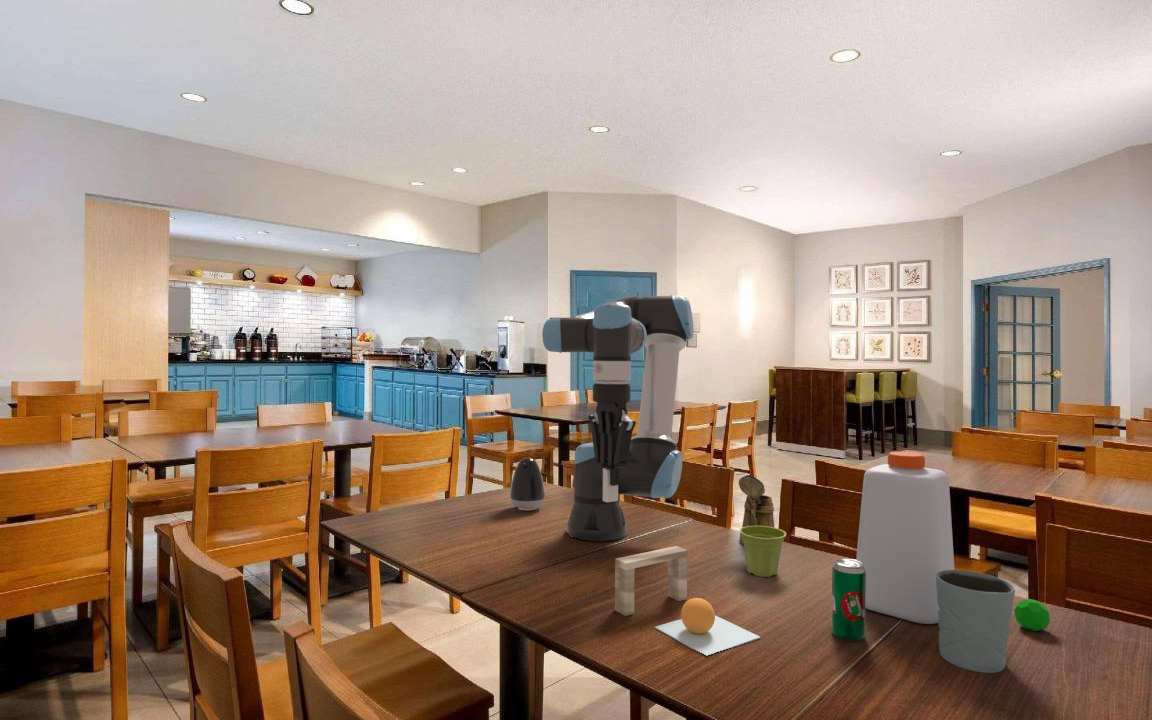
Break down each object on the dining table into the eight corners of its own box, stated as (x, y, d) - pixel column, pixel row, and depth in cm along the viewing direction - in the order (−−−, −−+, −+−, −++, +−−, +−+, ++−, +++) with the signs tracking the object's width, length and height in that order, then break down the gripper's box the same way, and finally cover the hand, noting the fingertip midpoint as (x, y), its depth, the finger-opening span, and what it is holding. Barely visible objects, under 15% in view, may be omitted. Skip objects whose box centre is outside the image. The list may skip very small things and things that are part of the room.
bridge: (614, 610, 114) (615, 558, 114) (675, 593, 122) (676, 545, 122) (625, 615, 112) (625, 563, 112) (686, 599, 120) (687, 550, 120)
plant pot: (788, 582, 129) (788, 539, 129) (740, 578, 131) (740, 536, 131) (782, 567, 138) (783, 527, 138) (737, 563, 140) (738, 524, 140)
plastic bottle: (962, 606, 117) (964, 454, 117) (937, 631, 107) (939, 463, 106) (876, 585, 128) (878, 445, 128) (845, 605, 117) (847, 453, 117)
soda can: (836, 626, 108) (838, 555, 108) (868, 634, 105) (869, 562, 105) (827, 636, 104) (828, 563, 104) (859, 645, 101) (860, 570, 101)
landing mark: (654, 627, 107) (654, 626, 107) (706, 612, 114) (706, 611, 114) (706, 656, 97) (706, 655, 97) (760, 638, 103) (760, 636, 103)
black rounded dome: (505, 512, 183) (505, 459, 183) (514, 504, 193) (515, 454, 193) (540, 514, 181) (540, 460, 181) (548, 506, 191) (548, 455, 191)
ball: (700, 631, 101) (681, 640, 105) (726, 625, 103) (706, 634, 107) (688, 596, 103) (670, 606, 107) (714, 591, 106) (695, 601, 110)
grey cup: (919, 650, 100) (921, 573, 100) (963, 639, 104) (965, 565, 104) (983, 681, 91) (985, 596, 90) (1029, 668, 95) (1030, 587, 94)
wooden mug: (728, 549, 151) (729, 472, 151) (745, 535, 162) (746, 464, 162) (766, 555, 146) (767, 477, 146) (781, 541, 158) (782, 468, 157)
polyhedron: (1034, 636, 105) (1034, 608, 105) (1006, 624, 110) (1007, 596, 110) (1057, 633, 106) (1058, 605, 106) (1029, 621, 111) (1029, 594, 111)
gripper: (577, 381, 131) (576, 496, 131) (616, 384, 120) (614, 510, 120) (607, 380, 135) (606, 492, 135) (647, 383, 124) (645, 505, 124)
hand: (610, 500), depth 128 cm, fingers closed
